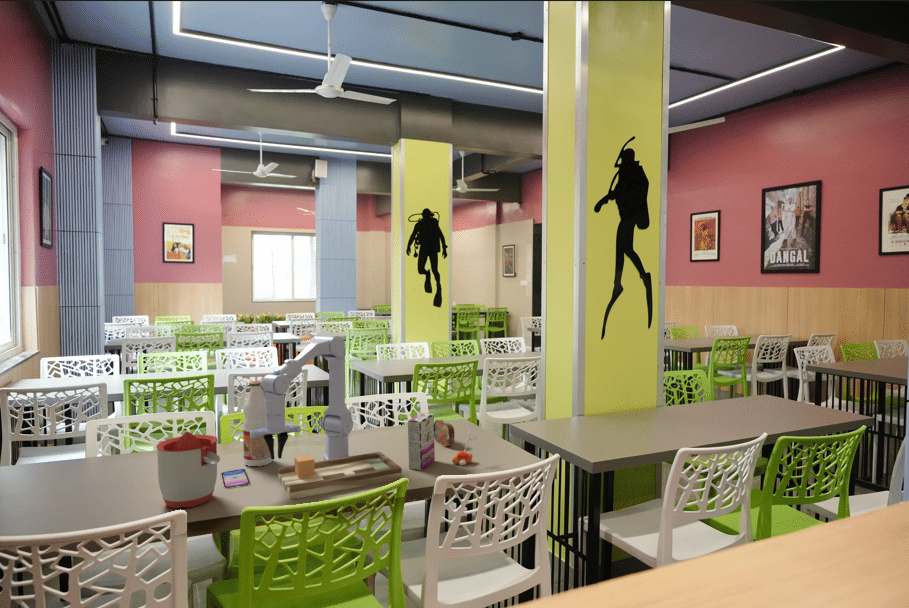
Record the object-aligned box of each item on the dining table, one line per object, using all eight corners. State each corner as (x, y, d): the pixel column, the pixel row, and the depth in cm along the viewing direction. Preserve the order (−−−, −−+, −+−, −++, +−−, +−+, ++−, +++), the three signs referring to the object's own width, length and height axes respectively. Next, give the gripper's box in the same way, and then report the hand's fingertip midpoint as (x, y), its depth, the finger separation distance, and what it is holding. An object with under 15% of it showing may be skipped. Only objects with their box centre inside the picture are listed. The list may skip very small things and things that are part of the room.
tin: (432, 439, 218) (432, 417, 217) (439, 438, 219) (439, 417, 219) (448, 449, 204) (448, 426, 204) (456, 448, 205) (455, 425, 205)
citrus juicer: (197, 516, 147) (195, 441, 146) (144, 509, 152) (142, 437, 151) (235, 494, 162) (234, 426, 161) (186, 488, 167) (184, 422, 166)
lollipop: (481, 464, 187) (481, 429, 186) (454, 467, 184) (454, 431, 184) (475, 459, 193) (475, 425, 192) (449, 461, 190) (449, 427, 189)
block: (294, 473, 174) (294, 457, 173) (310, 470, 176) (310, 454, 176) (298, 478, 169) (298, 461, 169) (314, 475, 172) (314, 459, 171)
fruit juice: (264, 468, 185) (262, 384, 184) (238, 466, 186) (236, 384, 185) (277, 459, 194) (276, 379, 193) (252, 457, 195) (250, 379, 194)
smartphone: (224, 490, 166) (223, 487, 166) (220, 475, 179) (220, 471, 179) (250, 486, 169) (250, 482, 169) (245, 471, 183) (245, 468, 183)
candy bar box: (421, 459, 193) (421, 412, 192) (435, 460, 191) (434, 413, 190) (407, 469, 182) (407, 420, 182) (421, 471, 181) (421, 421, 180)
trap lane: (278, 478, 174) (278, 467, 174) (380, 461, 190) (380, 451, 190) (290, 499, 157) (290, 487, 157) (401, 478, 173) (401, 467, 173)
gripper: (251, 419, 161) (253, 465, 161) (302, 413, 168) (303, 458, 168) (248, 414, 167) (249, 459, 168) (297, 409, 174) (298, 451, 174)
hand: (276, 458), depth 168 cm, fingers closed
